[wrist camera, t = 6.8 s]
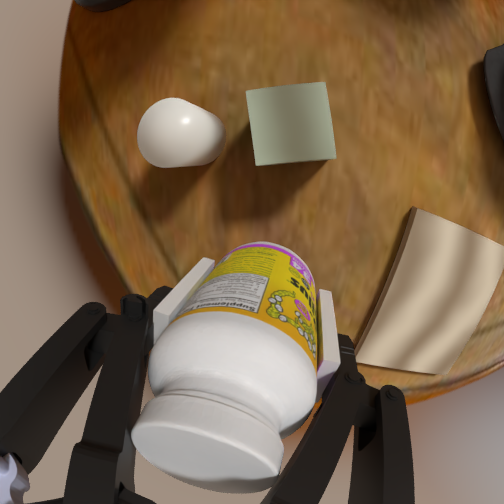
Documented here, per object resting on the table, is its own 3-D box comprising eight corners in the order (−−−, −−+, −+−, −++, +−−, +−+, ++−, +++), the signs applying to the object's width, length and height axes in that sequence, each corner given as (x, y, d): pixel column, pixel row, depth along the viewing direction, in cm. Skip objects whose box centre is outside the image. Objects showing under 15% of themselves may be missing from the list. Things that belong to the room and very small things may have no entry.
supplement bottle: (316, 327, 18) (310, 507, 7) (225, 329, 20) (150, 482, 8) (312, 233, 16) (316, 415, 4) (207, 241, 18) (67, 377, 6)
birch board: (352, 354, 26) (353, 361, 25) (412, 206, 21) (417, 208, 20) (443, 368, 25) (446, 375, 24) (503, 246, 19) (510, 249, 18)
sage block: (268, 165, 22) (255, 165, 17) (260, 108, 21) (245, 91, 15) (328, 160, 21) (336, 158, 16) (320, 102, 20) (324, 82, 14)
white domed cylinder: (168, 161, 24) (132, 162, 18) (179, 108, 22) (144, 96, 16) (219, 170, 23) (193, 173, 18) (231, 114, 21) (208, 100, 16)
